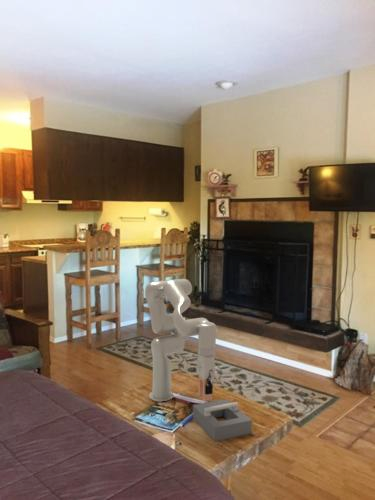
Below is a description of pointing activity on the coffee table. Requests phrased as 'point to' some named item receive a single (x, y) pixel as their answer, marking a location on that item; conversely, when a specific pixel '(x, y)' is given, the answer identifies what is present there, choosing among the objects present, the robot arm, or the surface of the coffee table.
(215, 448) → the coffee table surface
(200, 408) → the grey rectangular frame
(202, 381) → the clip
